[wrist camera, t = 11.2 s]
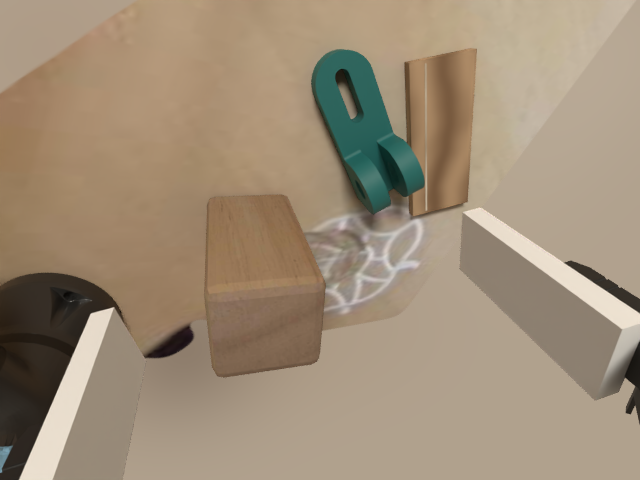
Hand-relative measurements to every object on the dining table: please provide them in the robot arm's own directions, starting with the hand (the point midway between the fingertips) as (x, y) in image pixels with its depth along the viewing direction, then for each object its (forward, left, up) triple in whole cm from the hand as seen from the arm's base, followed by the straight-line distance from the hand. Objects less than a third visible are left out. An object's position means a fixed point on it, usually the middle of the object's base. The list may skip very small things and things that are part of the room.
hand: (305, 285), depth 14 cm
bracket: (+13, -4, -33) cm, 36 cm away
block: (-3, -14, -33) cm, 36 cm away
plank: (+24, -8, -33) cm, 41 cm away
